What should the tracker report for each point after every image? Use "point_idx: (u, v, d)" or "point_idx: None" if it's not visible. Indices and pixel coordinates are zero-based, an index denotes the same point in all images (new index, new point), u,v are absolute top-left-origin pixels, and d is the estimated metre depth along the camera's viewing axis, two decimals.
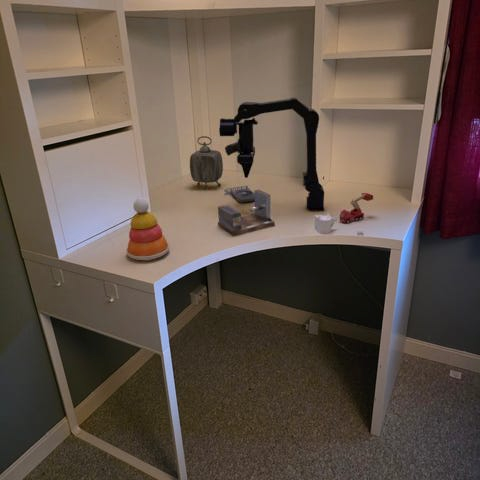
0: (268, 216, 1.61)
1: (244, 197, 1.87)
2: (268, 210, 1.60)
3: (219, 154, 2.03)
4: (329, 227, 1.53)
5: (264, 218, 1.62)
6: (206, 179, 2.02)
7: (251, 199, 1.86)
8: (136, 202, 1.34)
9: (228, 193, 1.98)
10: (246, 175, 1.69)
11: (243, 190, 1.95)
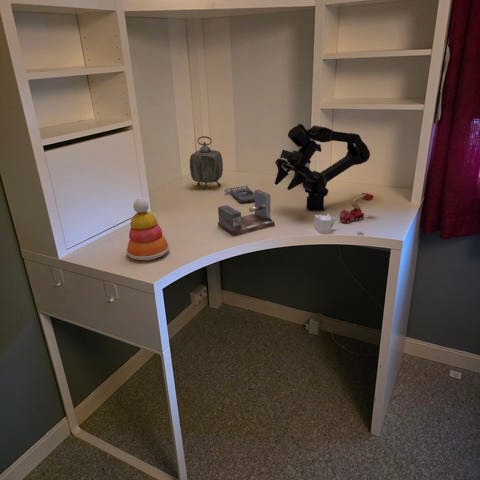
0: (268, 216, 1.61)
1: (245, 197, 1.87)
2: (268, 210, 1.60)
3: (219, 154, 2.03)
4: (329, 227, 1.53)
5: (264, 218, 1.62)
6: (206, 179, 2.02)
7: (252, 199, 1.86)
8: (136, 202, 1.34)
9: (228, 193, 1.98)
10: (290, 187, 1.61)
11: (243, 190, 1.95)
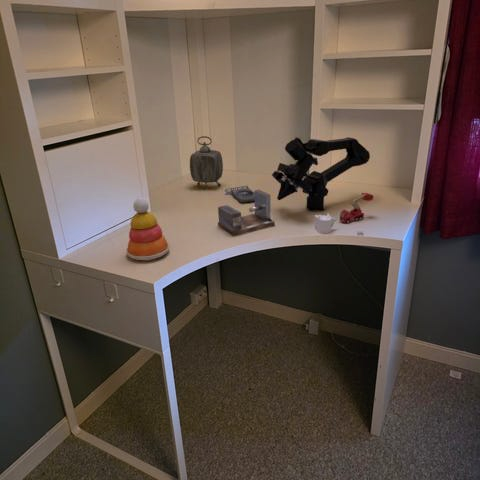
0: (268, 216, 1.61)
1: (245, 197, 1.87)
2: (268, 210, 1.60)
3: (219, 154, 2.03)
4: (329, 227, 1.53)
5: (264, 218, 1.62)
6: (206, 179, 2.02)
7: (252, 199, 1.86)
8: (136, 202, 1.34)
9: (228, 193, 1.98)
10: (281, 198, 1.65)
11: (244, 190, 1.95)
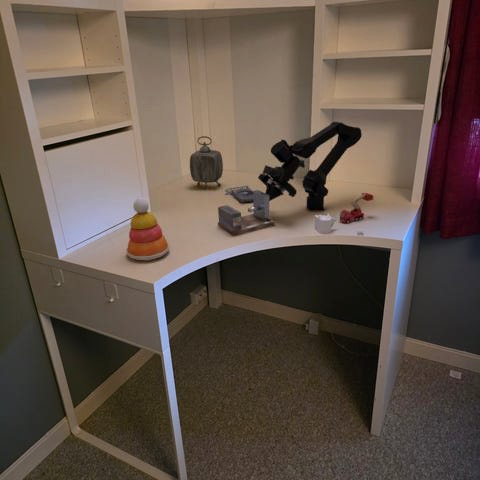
0: (267, 216, 1.61)
1: (245, 197, 1.87)
2: (267, 210, 1.60)
3: (219, 154, 2.03)
4: (329, 227, 1.53)
5: (263, 218, 1.62)
6: (206, 179, 2.02)
7: (252, 199, 1.86)
8: (136, 202, 1.34)
9: (229, 193, 1.98)
10: None
11: (244, 190, 1.95)
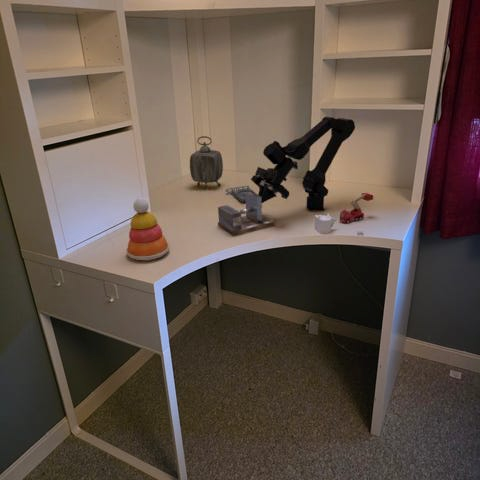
0: (259, 218, 1.59)
1: None
2: (259, 212, 1.58)
3: (219, 154, 2.03)
4: (329, 227, 1.53)
5: (255, 220, 1.60)
6: (206, 179, 2.02)
7: None
8: (136, 202, 1.34)
9: (229, 193, 1.98)
10: None
11: (244, 190, 1.95)
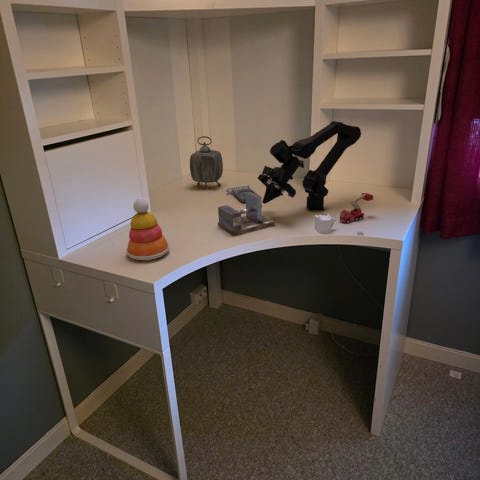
0: (259, 218, 1.59)
1: None
2: (259, 212, 1.58)
3: (219, 154, 2.03)
4: (329, 227, 1.53)
5: (255, 220, 1.60)
6: (206, 179, 2.02)
7: None
8: (136, 202, 1.34)
9: (230, 193, 1.98)
10: (266, 201, 1.62)
11: (245, 190, 1.95)
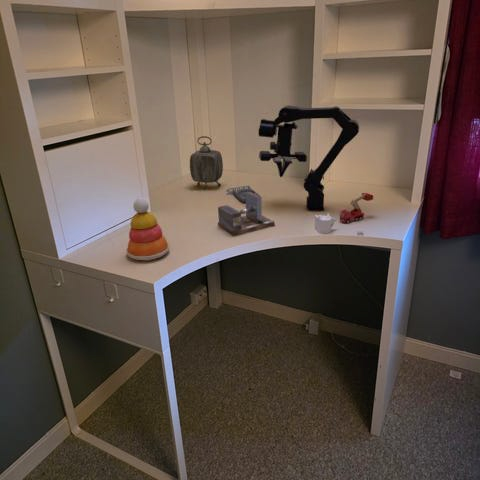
0: (259, 218, 1.59)
1: None
2: (259, 212, 1.58)
3: (219, 154, 2.03)
4: (329, 227, 1.53)
5: (255, 220, 1.60)
6: (206, 179, 2.02)
7: None
8: (136, 202, 1.34)
9: (230, 193, 1.98)
10: (279, 174, 1.76)
11: (245, 190, 1.95)
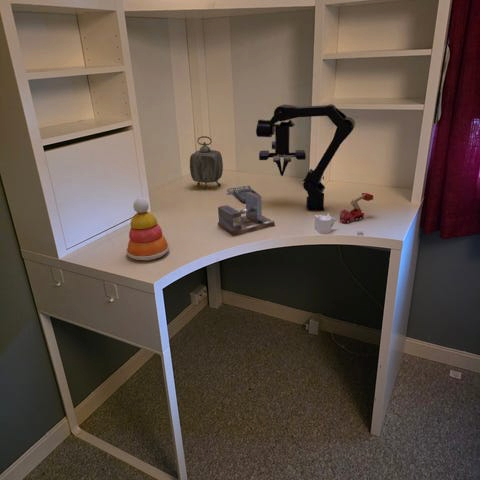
0: (259, 218, 1.59)
1: None
2: (259, 212, 1.58)
3: (219, 154, 2.03)
4: (329, 227, 1.53)
5: (255, 220, 1.60)
6: (206, 179, 2.02)
7: None
8: (136, 202, 1.34)
9: (231, 193, 1.98)
10: (280, 173, 1.77)
11: (246, 190, 1.95)
